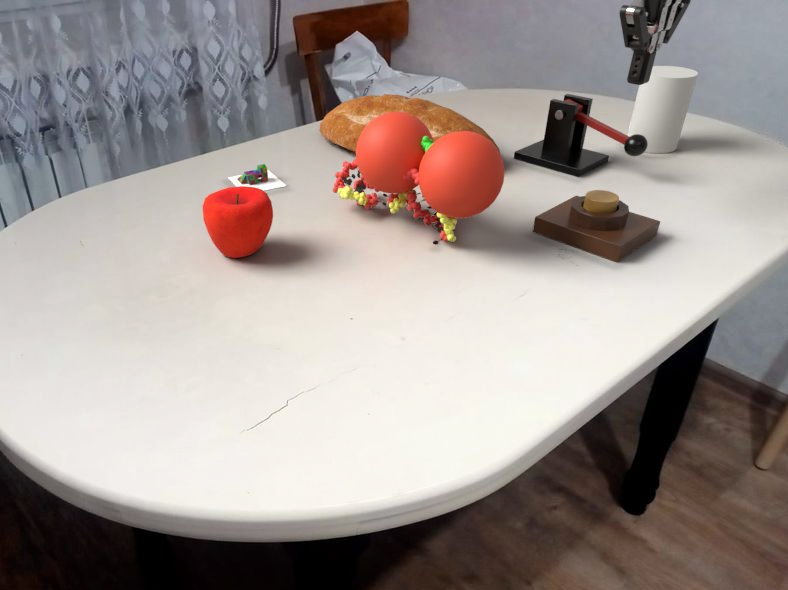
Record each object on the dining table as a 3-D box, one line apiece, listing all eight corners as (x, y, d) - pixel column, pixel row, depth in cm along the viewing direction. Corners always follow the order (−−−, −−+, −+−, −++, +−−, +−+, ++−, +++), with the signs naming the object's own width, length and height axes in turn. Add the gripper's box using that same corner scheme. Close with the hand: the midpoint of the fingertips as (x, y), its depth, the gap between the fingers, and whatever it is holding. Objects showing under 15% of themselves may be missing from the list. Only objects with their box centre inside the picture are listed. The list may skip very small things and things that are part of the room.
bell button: (621, 208, 84) (625, 195, 83) (605, 218, 82) (609, 204, 81) (593, 199, 87) (596, 187, 86) (576, 208, 85) (579, 195, 84)
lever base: (608, 162, 107) (622, 100, 102) (578, 177, 103) (591, 113, 97) (543, 145, 115) (553, 87, 109) (513, 158, 110) (522, 98, 104)
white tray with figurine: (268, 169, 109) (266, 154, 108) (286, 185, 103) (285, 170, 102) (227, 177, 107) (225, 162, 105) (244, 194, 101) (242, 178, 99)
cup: (671, 138, 116) (692, 66, 109) (680, 154, 109) (703, 78, 102) (622, 136, 117) (639, 65, 110) (628, 152, 111) (647, 77, 104)
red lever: (645, 157, 100) (655, 137, 97) (634, 162, 98) (645, 142, 96) (563, 114, 107) (571, 95, 104) (552, 119, 105) (560, 99, 103)
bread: (352, 120, 129) (352, 73, 124) (520, 155, 111) (528, 101, 106) (294, 145, 119) (292, 94, 113) (470, 188, 100) (476, 129, 95)
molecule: (516, 228, 88) (526, 124, 77) (471, 276, 84) (475, 173, 72) (370, 174, 101) (360, 78, 89) (324, 213, 96) (307, 117, 85)
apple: (266, 270, 81) (261, 211, 76) (198, 265, 82) (189, 207, 78) (283, 238, 88) (279, 182, 84) (220, 234, 90) (213, 179, 85)
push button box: (656, 236, 85) (664, 207, 83) (617, 262, 80) (625, 232, 78) (573, 210, 93) (578, 182, 91) (532, 232, 88) (537, 203, 85)
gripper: (682, -75, 68) (638, 99, 78) (738, -82, 74) (691, 78, 85) (614, -77, 72) (581, 87, 83) (673, -84, 79) (636, 69, 89)
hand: (637, 82), depth 84 cm, fingers closed
